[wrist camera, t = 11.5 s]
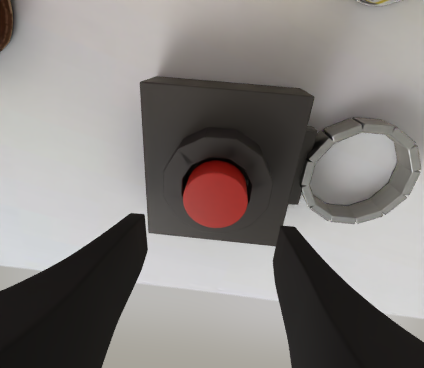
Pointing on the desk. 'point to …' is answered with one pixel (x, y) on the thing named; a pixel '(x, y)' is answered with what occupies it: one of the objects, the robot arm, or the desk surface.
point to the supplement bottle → (377, 2)
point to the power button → (215, 194)
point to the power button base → (221, 150)
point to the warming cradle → (384, 198)
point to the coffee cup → (5, 23)
